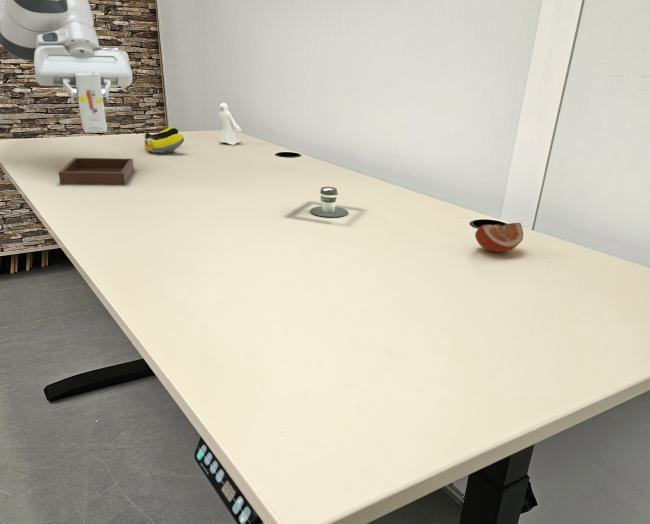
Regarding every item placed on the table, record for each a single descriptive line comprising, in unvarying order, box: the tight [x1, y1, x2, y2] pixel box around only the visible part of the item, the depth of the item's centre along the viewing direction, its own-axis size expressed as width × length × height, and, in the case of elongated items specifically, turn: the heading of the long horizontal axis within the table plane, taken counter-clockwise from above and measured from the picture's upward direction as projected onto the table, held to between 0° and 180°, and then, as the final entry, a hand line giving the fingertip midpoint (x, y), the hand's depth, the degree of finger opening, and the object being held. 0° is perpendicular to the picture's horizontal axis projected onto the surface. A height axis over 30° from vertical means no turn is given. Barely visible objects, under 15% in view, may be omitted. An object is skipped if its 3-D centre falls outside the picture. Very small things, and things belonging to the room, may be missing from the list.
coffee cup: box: [309, 186, 349, 218], centre depth 118 cm, size 12×12×5 cm
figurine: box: [218, 102, 243, 146], centre depth 181 cm, size 8×8×12 cm
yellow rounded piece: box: [142, 126, 185, 154], centre depth 167 cm, size 15×6×10 cm
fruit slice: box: [474, 222, 524, 253], centre depth 102 cm, size 8×7×5 cm
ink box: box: [75, 72, 108, 133], centre depth 131 cm, size 9×5×12 cm, turn 24°
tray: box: [58, 157, 135, 186], centre depth 136 cm, size 14×16×3 cm
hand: (90, 98), depth 130 cm, fingers closed on ink box, 5 cm apart
